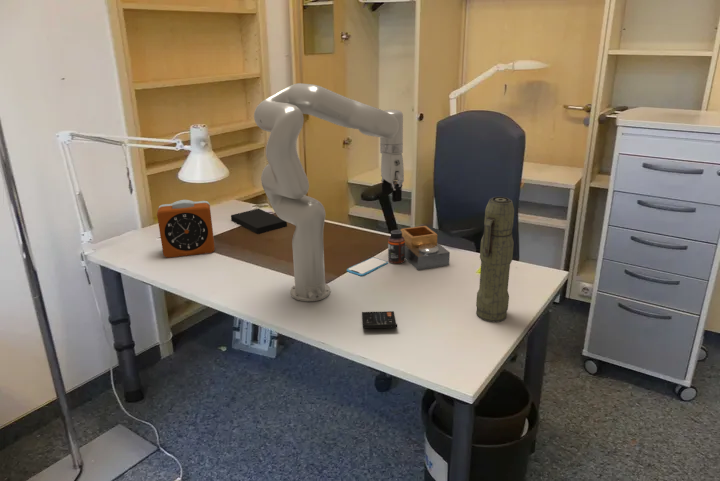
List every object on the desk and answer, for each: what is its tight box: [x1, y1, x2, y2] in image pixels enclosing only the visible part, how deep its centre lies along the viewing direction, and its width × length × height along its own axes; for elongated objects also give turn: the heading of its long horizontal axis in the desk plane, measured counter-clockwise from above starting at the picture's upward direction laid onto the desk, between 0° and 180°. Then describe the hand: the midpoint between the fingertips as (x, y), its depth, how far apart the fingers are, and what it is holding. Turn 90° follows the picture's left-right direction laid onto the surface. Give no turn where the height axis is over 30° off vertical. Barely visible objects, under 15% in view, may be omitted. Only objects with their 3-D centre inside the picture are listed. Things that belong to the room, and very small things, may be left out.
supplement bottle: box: [387, 229, 406, 265], centre depth 194 cm, size 6×6×11 cm
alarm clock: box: [156, 199, 215, 259], centre depth 203 cm, size 18×9×21 cm, turn 105°
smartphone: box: [346, 256, 389, 277], centre depth 191 cm, size 8×1×15 cm
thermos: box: [475, 196, 515, 323], centre depth 152 cm, size 9×12×35 cm
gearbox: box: [400, 225, 450, 271], centre depth 197 cm, size 20×12×9 cm, turn 18°
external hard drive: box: [230, 208, 288, 235], centre depth 236 cm, size 14×23×3 cm, turn 40°
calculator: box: [361, 310, 398, 329], centre depth 154 cm, size 9×12×3 cm
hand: (391, 197), depth 188 cm, fingers open, 9 cm apart
